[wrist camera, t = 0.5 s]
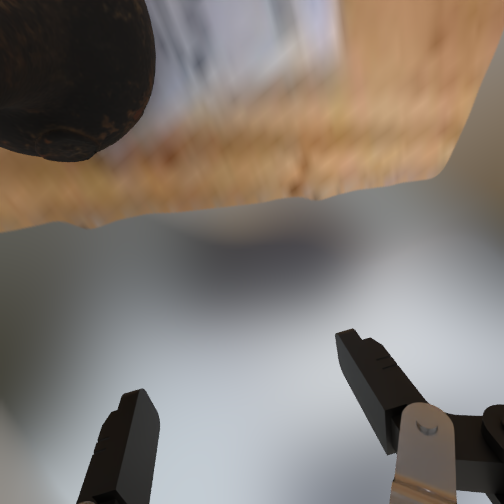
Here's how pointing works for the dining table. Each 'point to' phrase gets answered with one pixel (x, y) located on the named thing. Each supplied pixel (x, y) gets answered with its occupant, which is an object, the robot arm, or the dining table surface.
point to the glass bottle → (72, 74)
